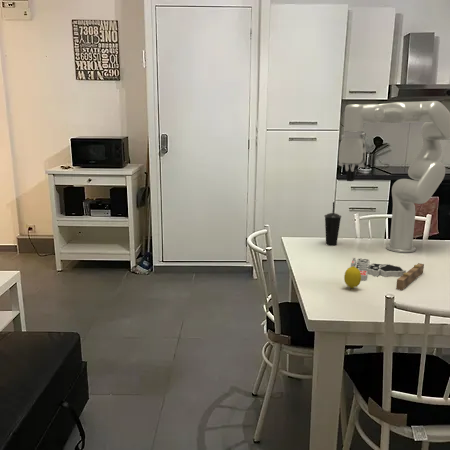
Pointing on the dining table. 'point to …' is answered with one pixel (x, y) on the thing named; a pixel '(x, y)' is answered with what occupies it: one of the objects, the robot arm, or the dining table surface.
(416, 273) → the walnut ledge
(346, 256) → the dining table surface
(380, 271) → the decorative sign
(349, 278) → the lemon
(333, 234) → the drinking cup
